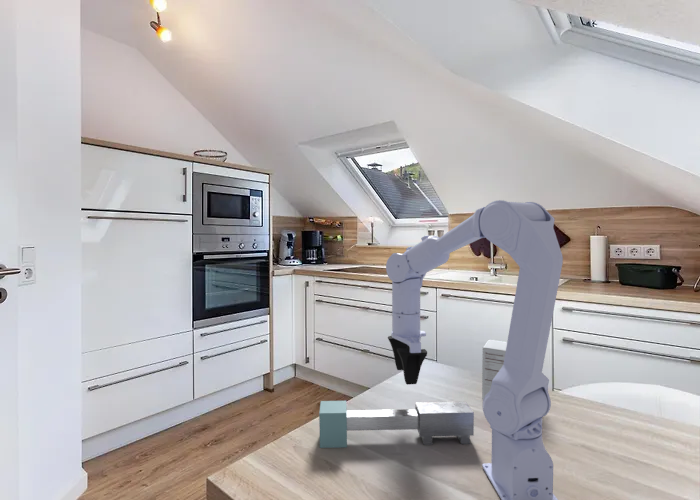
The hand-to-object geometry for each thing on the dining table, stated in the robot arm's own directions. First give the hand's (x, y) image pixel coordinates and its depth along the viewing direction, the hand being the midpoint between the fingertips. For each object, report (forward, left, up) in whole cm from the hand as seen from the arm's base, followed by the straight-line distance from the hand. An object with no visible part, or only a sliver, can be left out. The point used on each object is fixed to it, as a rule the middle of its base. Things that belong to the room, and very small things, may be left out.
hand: (406, 376), depth 80 cm
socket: (-7, +15, -9) cm, 19 cm away
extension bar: (-7, +6, -7) cm, 11 cm away
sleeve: (-7, -6, -9) cm, 13 cm away
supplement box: (+10, -24, -10) cm, 28 cm away
